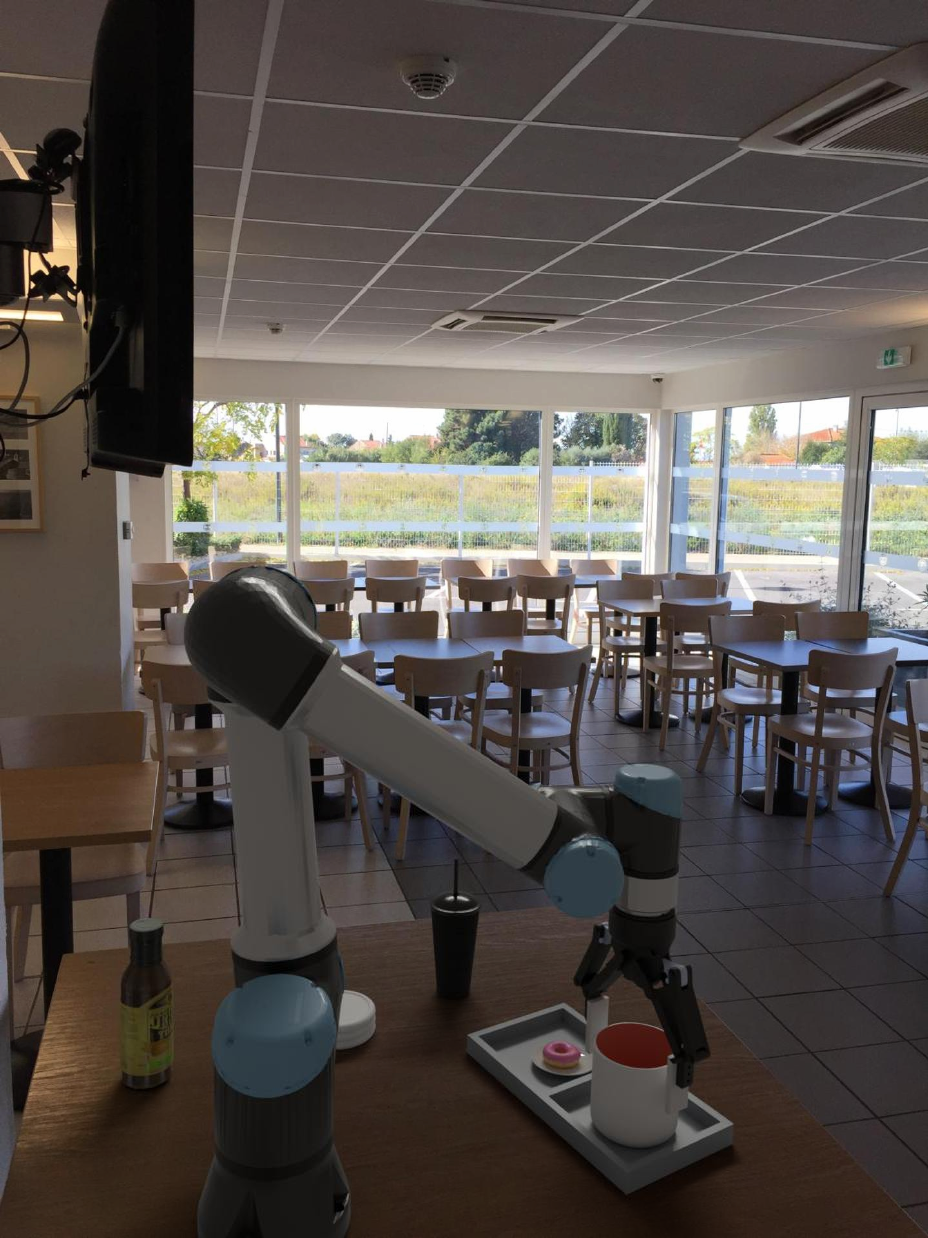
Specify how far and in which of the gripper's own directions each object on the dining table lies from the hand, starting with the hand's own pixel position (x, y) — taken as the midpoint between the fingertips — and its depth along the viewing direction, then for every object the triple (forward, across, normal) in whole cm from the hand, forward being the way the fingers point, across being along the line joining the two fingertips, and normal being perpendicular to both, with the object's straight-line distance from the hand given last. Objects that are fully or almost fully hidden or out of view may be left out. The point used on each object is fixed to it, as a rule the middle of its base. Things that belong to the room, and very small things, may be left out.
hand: (634, 1078), depth 118 cm
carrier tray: (+6, +8, 0) cm, 10 cm away
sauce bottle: (+7, +38, +45) cm, 60 cm away
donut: (+6, +12, 0) cm, 14 cm away
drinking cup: (+7, +38, +1) cm, 38 cm away
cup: (+6, 0, 0) cm, 6 cm away
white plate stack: (+7, +36, +20) cm, 42 cm away
